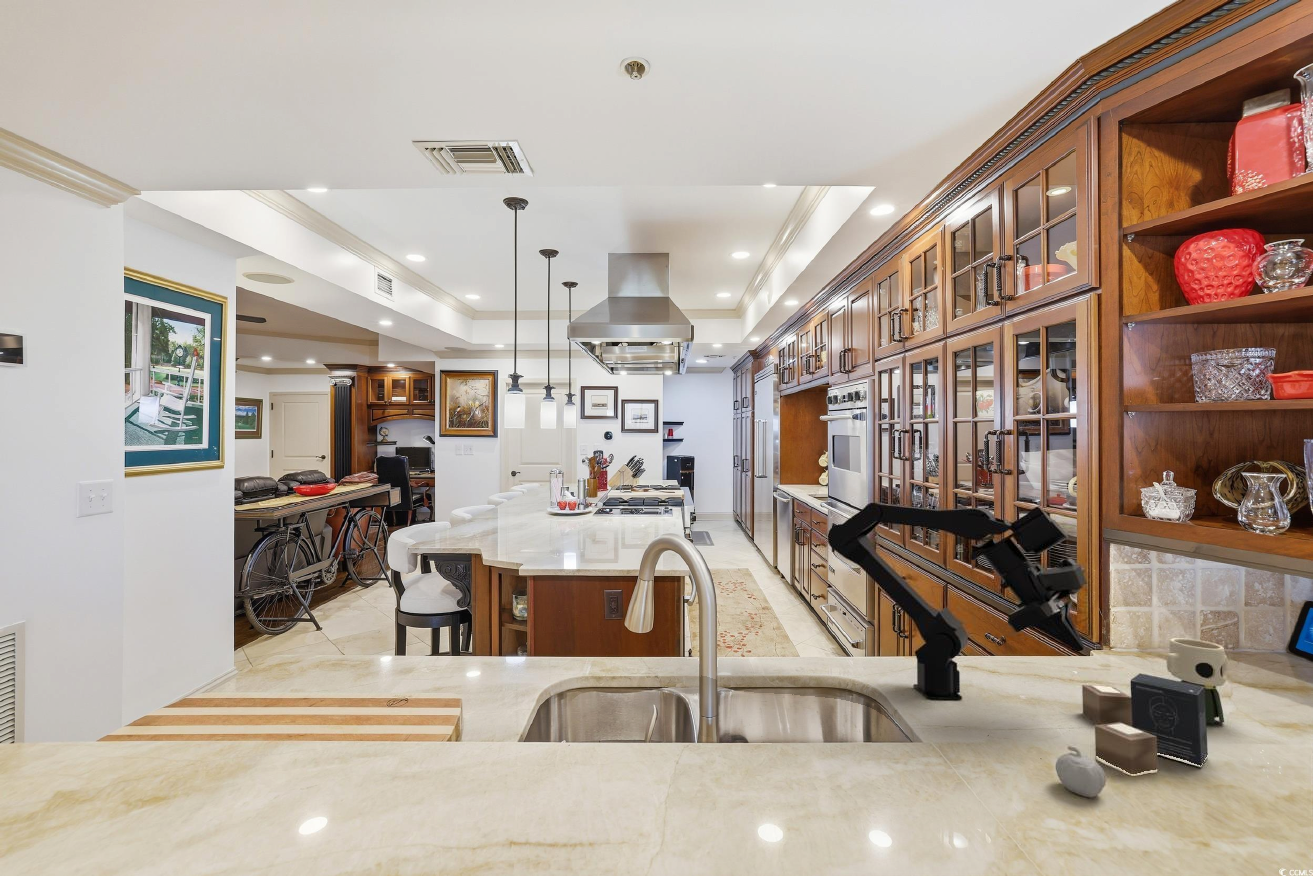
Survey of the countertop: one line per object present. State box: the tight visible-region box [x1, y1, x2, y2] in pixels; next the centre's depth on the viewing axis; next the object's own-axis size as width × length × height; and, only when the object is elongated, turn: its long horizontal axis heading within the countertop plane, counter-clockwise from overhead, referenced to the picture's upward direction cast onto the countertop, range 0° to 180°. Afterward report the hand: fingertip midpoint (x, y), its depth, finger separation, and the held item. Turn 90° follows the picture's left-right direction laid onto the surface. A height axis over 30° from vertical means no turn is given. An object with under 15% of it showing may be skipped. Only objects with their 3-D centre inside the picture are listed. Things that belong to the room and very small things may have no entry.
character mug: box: [1166, 637, 1228, 724], centre depth 101 cm, size 11×7×13 cm, turn 94°
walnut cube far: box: [1081, 684, 1132, 727], centre depth 100 cm, size 5×5×5 cm
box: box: [1130, 672, 1209, 766], centre depth 88 cm, size 8×6×11 cm
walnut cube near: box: [1094, 722, 1159, 774], centre depth 84 cm, size 5×5×5 cm
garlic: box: [1055, 745, 1107, 798], centre depth 77 cm, size 6×5×5 cm
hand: (1081, 650), depth 97 cm, fingers closed
